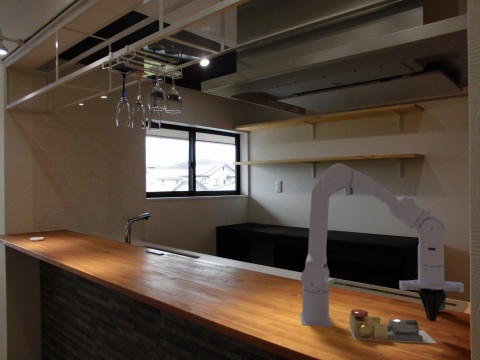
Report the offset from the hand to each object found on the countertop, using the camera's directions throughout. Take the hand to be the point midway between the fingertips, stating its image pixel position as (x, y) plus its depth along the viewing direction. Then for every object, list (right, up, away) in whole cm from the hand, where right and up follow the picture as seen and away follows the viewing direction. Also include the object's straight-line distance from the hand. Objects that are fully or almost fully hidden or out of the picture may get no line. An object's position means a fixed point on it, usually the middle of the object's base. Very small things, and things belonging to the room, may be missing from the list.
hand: (431, 319), depth 91 cm
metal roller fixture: (-10, -4, +1) cm, 11 cm away
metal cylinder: (-7, -4, +1) cm, 8 cm away
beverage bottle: (+11, -5, +19) cm, 22 cm away
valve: (-15, -4, +1) cm, 16 cm away
